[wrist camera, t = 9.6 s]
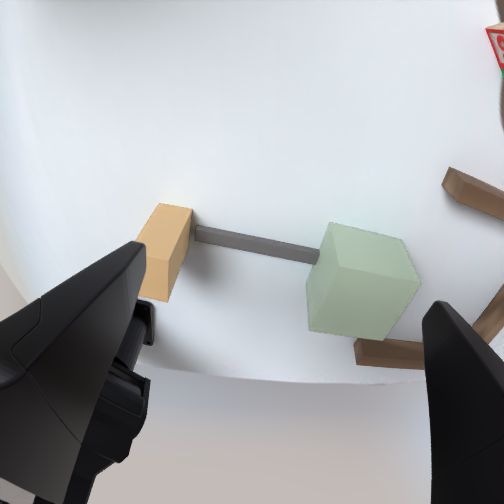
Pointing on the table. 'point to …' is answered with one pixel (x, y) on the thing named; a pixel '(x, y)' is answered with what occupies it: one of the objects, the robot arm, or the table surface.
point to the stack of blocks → (497, 42)
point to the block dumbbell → (325, 262)
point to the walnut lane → (492, 319)
